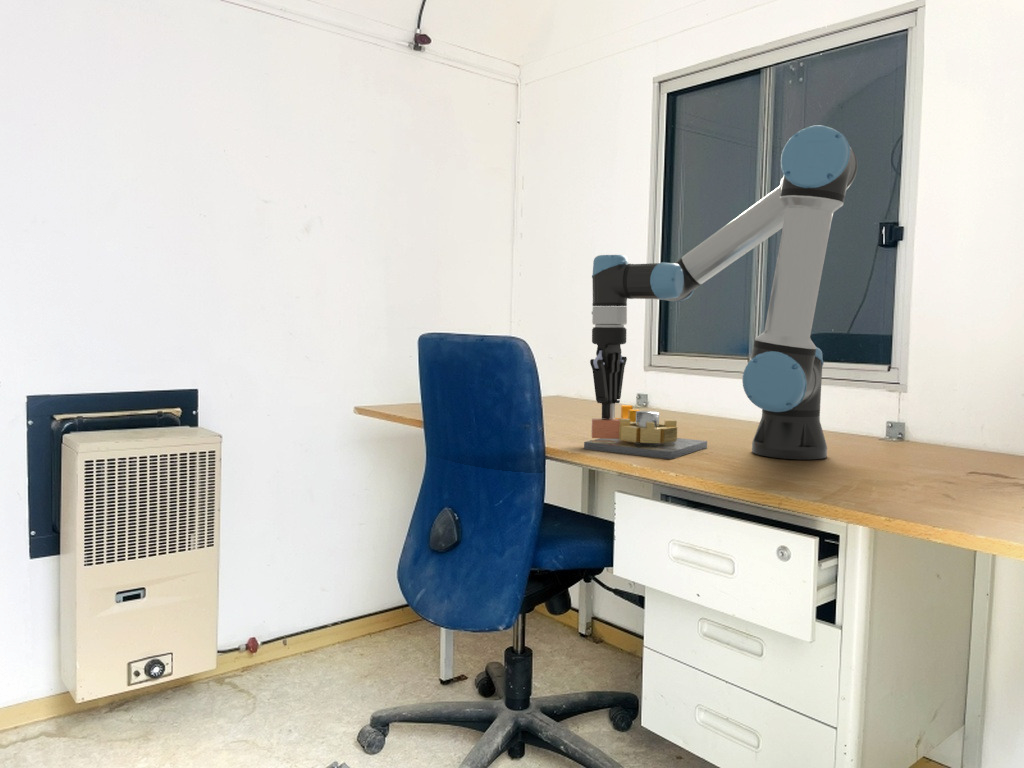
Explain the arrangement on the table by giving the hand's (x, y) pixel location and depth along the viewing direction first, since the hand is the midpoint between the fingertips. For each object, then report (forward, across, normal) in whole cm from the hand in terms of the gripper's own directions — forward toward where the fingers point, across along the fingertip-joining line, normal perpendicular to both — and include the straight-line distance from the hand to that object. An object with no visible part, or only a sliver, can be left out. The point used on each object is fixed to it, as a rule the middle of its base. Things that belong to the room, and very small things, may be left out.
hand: (608, 432), depth 179 cm
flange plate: (+3, -2, +8) cm, 9 cm away
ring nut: (+1, -1, +6) cm, 6 cm away
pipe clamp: (+4, -22, -7) cm, 23 cm away
